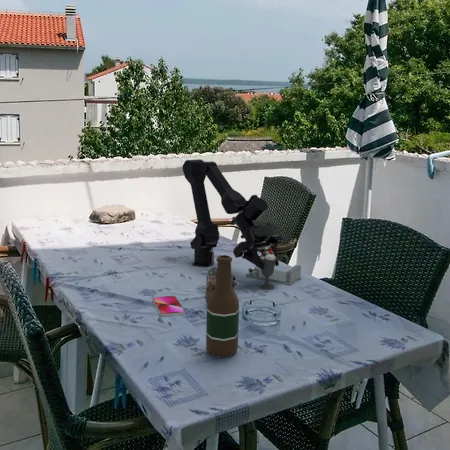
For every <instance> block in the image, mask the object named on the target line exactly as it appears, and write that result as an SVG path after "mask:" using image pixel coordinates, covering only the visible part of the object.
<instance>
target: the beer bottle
mask: <svg viewBox="0 0 450 450" xmlns="http://www.w3.org/2000/svg"><path fill="white" fill-rule="evenodd" d="M216 262H217V266H216V276H215V285H214V289H213V291H212V292H211V293H210V295H209V297H208V300H207V305H206V327H205V328H206V331H205V332H206V333H205V334H206V336H205V340H206V341H205V346H206V352H207V351H208V352H209V354H210V355H211V356H212V355H214V356H213V357H215V356H220V357H219V358H221V357H225V358H227V357H226V356H229V357H231V356H230V355H233V356H235V354H236V352H237V351H238V346H239V325H240V323H239V321H240V300H239V298H238V295H237V294H236V292H235V290H234V289H233V283H232V262H233V258H232V256H230V255H226V254H223V255H222V254H221V255H218V256H217V257H216ZM208 352H207V353H208Z"/></svg>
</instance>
